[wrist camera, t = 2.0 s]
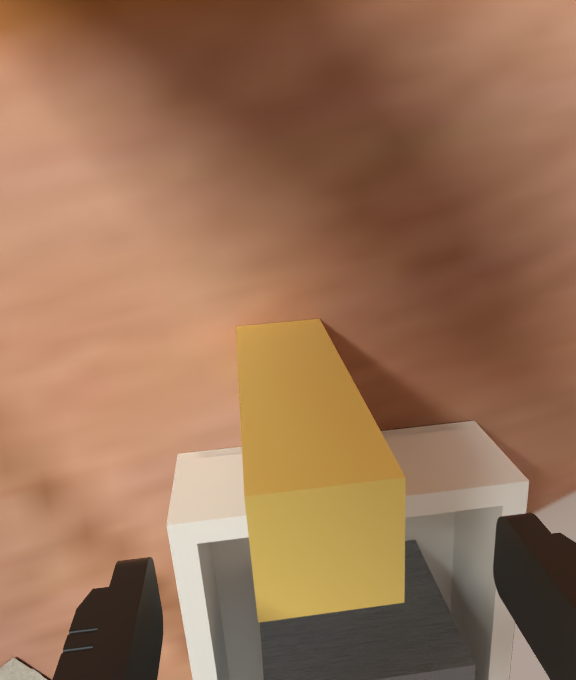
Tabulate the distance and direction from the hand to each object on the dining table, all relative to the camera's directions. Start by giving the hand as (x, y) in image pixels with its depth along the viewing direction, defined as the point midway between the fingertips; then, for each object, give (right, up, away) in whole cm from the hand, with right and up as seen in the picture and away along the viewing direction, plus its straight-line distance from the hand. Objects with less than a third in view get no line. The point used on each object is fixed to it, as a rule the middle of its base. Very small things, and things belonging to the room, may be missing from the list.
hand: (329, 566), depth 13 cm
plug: (-1, +4, +11) cm, 12 cm away
